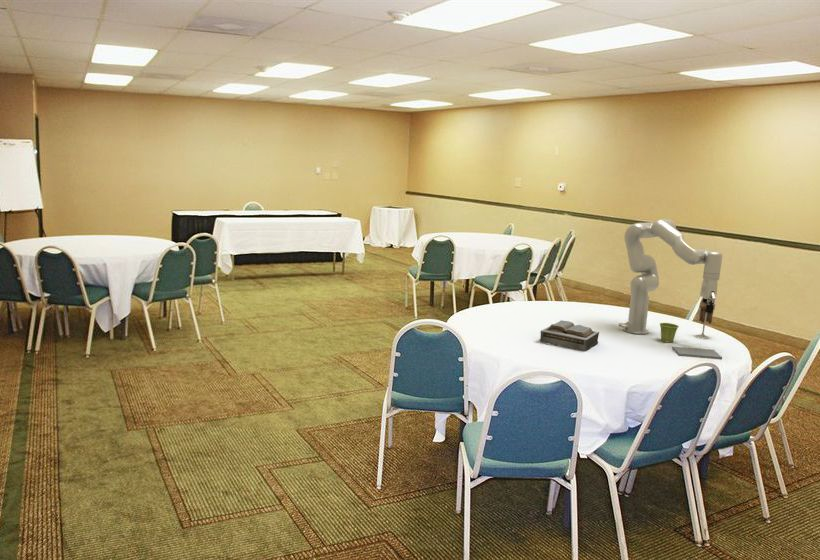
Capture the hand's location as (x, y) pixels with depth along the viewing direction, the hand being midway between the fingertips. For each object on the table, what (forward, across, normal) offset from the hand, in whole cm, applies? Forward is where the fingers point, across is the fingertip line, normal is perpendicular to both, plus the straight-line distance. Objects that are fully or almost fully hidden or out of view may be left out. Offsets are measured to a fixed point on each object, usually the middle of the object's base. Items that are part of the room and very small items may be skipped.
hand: (706, 310), depth 330 cm
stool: (+6, 0, 0) cm, 6 cm away
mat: (+20, +11, -6) cm, 23 cm away
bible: (+20, +8, -67) cm, 71 cm away
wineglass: (+20, -25, +8) cm, 33 cm away
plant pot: (+20, -11, -14) cm, 27 cm away
